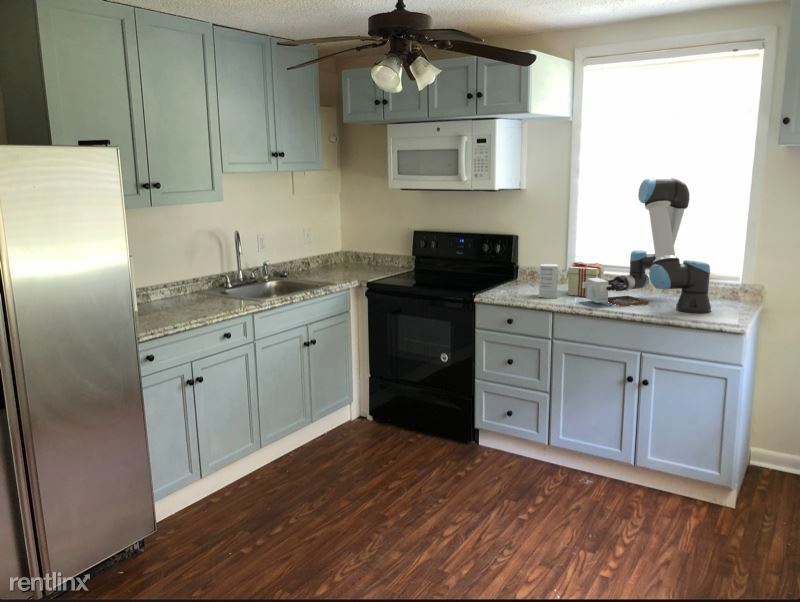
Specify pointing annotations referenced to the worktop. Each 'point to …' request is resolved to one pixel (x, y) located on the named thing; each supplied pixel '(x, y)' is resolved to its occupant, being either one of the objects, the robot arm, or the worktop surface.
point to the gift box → (582, 276)
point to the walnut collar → (640, 301)
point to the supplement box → (548, 280)
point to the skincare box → (596, 290)
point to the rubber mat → (596, 304)
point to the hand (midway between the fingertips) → (591, 287)
